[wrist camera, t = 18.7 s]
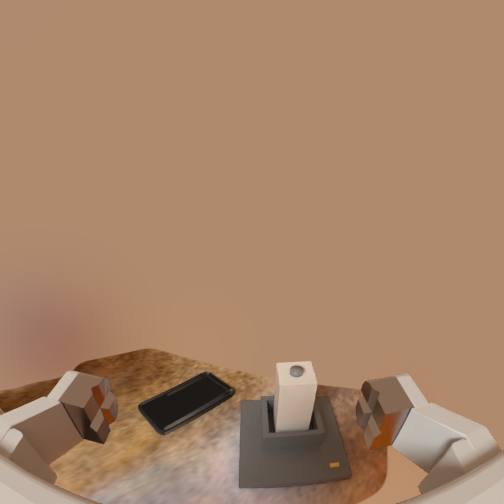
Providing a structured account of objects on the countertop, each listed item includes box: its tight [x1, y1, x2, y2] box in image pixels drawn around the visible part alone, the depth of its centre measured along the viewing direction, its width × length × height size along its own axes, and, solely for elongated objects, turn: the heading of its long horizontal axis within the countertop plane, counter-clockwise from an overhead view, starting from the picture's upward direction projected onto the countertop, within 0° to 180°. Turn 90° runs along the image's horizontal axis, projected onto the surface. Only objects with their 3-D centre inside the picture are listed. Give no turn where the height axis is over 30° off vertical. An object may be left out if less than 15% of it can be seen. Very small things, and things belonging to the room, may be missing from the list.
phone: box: [138, 372, 233, 435], centre depth 40 cm, size 8×1×15 cm
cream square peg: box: [273, 361, 318, 433], centre depth 33 cm, size 4×4×12 cm
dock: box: [239, 396, 352, 488], centre depth 32 cm, size 14×16×4 cm
